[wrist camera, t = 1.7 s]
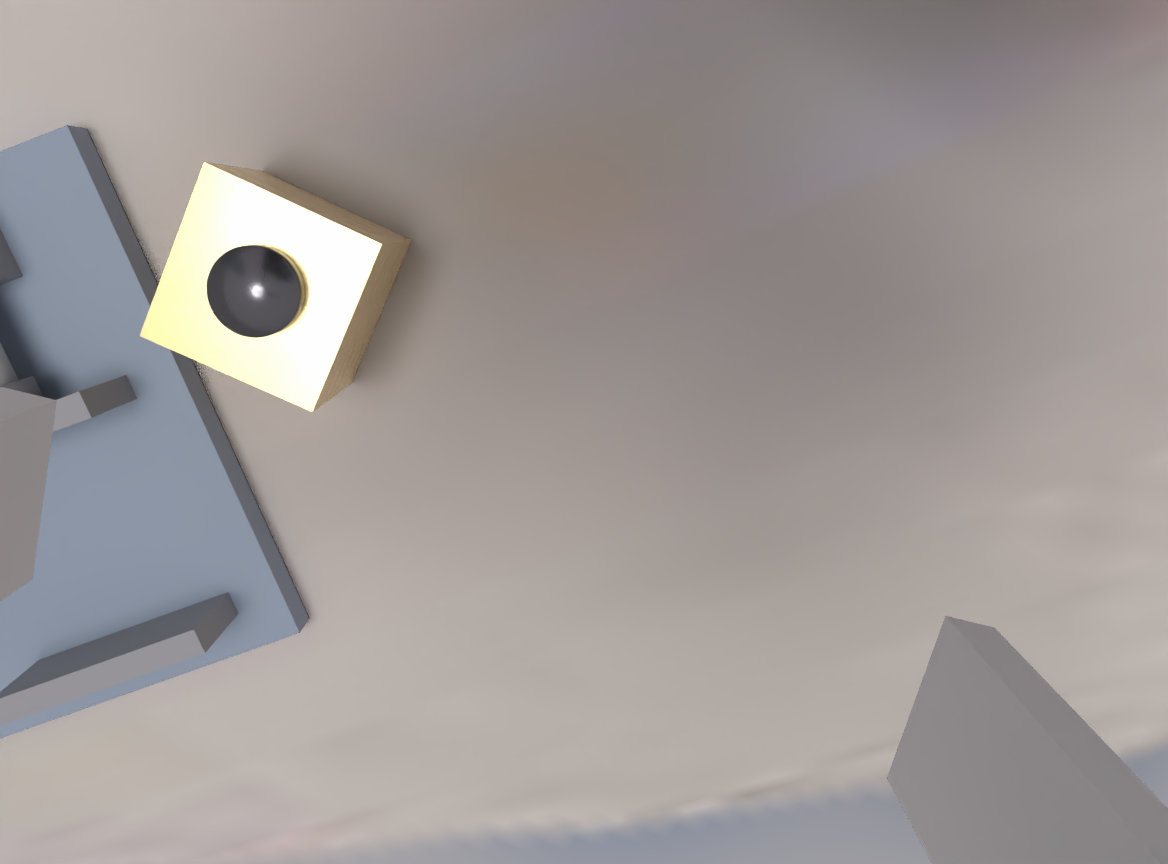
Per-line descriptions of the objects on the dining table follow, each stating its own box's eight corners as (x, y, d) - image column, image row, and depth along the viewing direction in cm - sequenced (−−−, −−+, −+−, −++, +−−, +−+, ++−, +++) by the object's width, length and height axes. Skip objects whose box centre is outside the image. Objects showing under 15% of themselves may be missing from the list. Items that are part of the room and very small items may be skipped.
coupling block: (206, 317, 32) (130, 338, 26) (263, 170, 31) (195, 160, 25) (352, 382, 32) (306, 416, 27) (412, 240, 31) (377, 244, 26)
